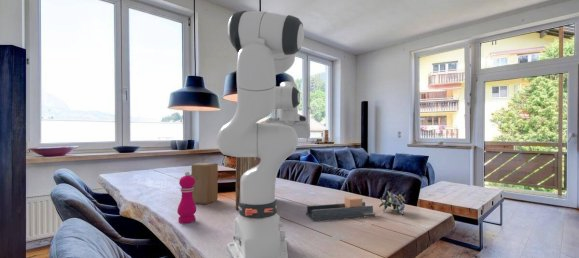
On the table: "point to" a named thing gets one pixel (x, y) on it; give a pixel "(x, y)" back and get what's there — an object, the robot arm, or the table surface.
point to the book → (243, 171)
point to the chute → (337, 211)
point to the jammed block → (353, 201)
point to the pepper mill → (187, 200)
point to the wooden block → (205, 182)
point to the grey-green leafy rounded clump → (394, 202)
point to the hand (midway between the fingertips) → (288, 148)
